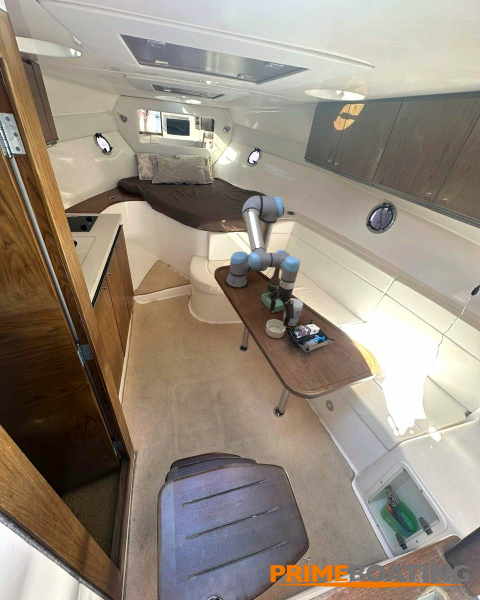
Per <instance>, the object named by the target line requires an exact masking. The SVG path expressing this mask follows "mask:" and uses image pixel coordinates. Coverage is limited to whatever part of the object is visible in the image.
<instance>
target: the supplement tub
mask: <svg viewBox="0 0 480 600" xmlns="http://www.w3.org/2000/svg"><path fill="white" fill-rule="evenodd" d="M290 299H291V300H294V303H293V308H294V318H292V319H290V322H289V323H288V325H287V326H290V327H295V326H297V325H298V322H299V320H300V317H301V313H302V311H303V308H304V303H303V301H302V300H301V299H298V298H295V297H294V298H291V297H290ZM285 316H286V311H285V310H284V312H283V315H282V322H283V323H284V320H285Z"/></svg>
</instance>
